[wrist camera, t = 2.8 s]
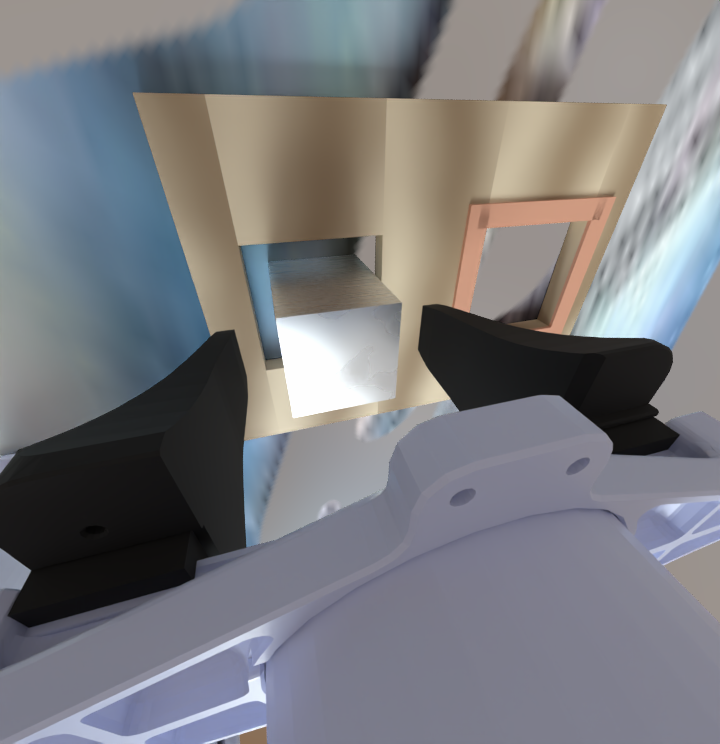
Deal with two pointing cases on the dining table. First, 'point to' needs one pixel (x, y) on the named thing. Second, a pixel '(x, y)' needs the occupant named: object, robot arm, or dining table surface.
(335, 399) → the steel peg
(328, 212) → the rail
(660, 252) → the dining table surface
